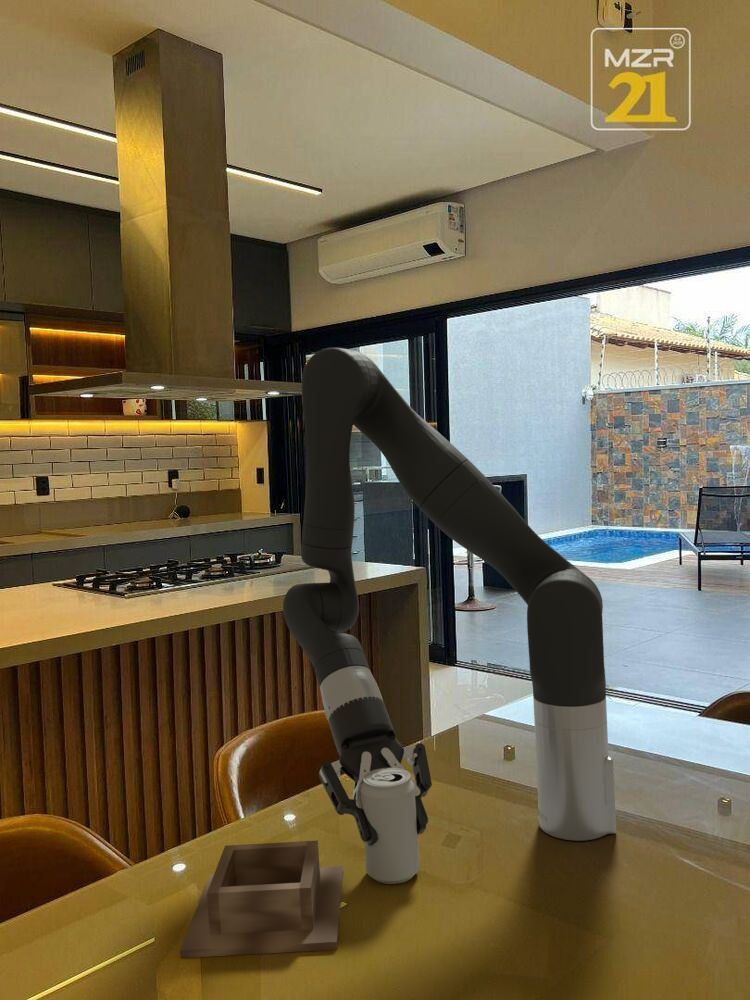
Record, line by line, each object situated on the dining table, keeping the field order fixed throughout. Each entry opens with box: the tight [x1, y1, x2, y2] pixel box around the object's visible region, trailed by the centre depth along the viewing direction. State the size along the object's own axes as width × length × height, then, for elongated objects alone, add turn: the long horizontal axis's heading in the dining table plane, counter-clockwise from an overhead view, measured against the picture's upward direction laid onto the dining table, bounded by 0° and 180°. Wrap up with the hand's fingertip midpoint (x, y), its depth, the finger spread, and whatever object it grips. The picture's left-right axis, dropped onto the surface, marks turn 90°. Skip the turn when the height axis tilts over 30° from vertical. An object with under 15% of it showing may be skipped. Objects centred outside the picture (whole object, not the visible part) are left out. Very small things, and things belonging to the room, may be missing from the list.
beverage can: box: [361, 768, 421, 885], centre depth 103 cm, size 6×6×12 cm
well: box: [179, 840, 344, 959], centre depth 96 cm, size 16×16×5 cm
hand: (397, 836), depth 101 cm, fingers closed on beverage can, 5 cm apart
